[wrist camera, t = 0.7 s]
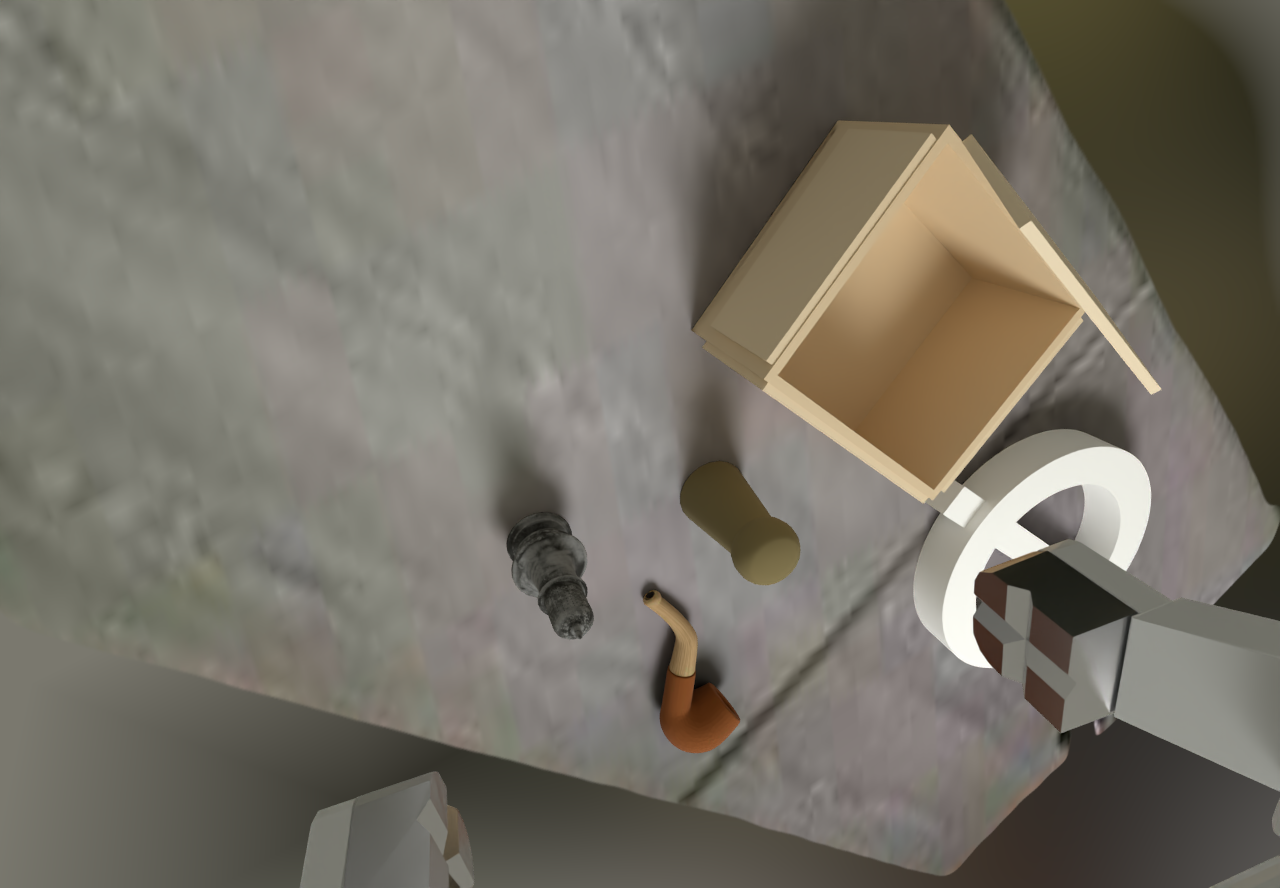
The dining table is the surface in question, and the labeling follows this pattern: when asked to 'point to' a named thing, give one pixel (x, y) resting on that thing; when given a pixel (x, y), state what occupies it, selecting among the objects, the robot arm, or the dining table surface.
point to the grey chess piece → (552, 571)
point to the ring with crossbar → (989, 520)
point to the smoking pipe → (690, 691)
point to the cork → (740, 523)
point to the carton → (893, 303)
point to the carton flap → (1058, 262)
